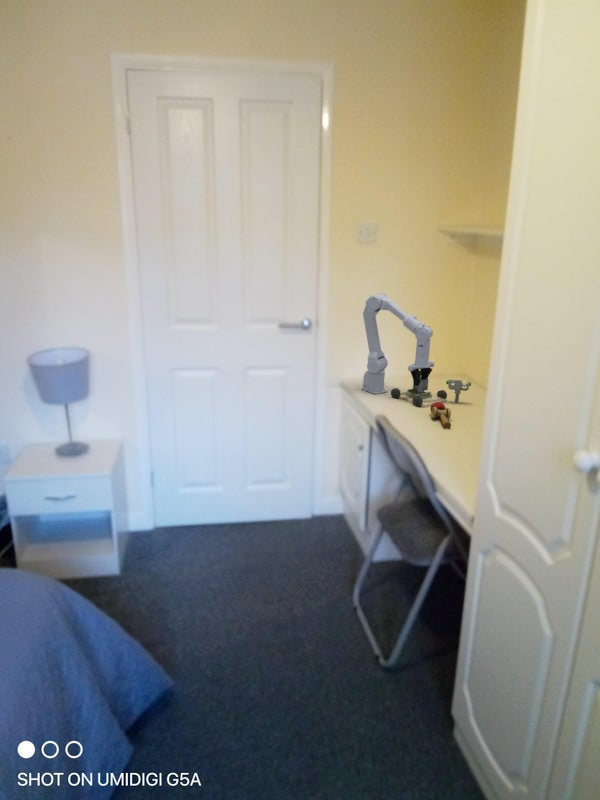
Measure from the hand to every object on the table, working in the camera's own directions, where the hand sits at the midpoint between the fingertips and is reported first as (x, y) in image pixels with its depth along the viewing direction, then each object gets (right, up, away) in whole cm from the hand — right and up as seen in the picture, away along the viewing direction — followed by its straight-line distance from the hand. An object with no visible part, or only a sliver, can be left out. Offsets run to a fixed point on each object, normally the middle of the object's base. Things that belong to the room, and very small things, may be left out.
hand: (419, 384), depth 261 cm
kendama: (+4, -15, -25) cm, 29 cm away
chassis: (0, -6, +2) cm, 7 cm away
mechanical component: (+16, -8, -2) cm, 18 cm away
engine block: (0, -2, 0) cm, 2 cm away
